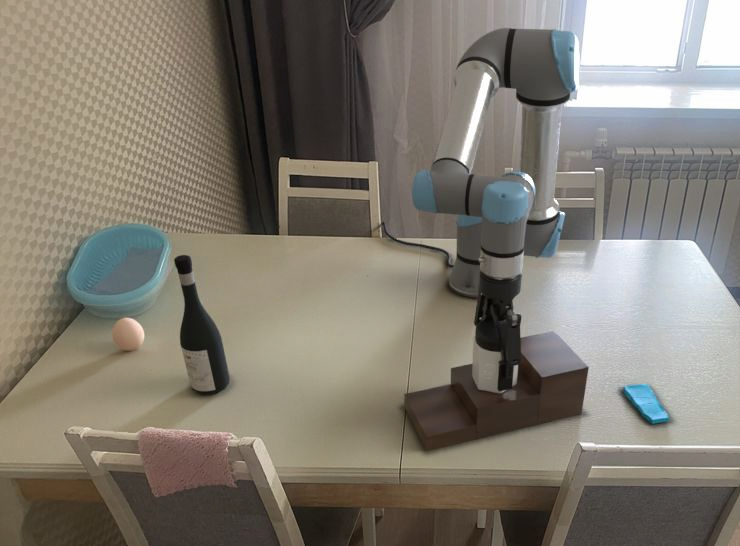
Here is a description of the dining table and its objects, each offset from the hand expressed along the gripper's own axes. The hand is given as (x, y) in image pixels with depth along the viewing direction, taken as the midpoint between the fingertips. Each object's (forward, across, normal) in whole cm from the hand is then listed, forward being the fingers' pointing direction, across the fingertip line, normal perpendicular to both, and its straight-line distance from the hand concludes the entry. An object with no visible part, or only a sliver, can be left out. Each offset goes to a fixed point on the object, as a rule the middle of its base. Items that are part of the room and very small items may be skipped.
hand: (494, 374), depth 133 cm
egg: (+9, -49, -69) cm, 85 cm away
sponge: (+9, +9, +30) cm, 33 cm away
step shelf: (+9, 0, 0) cm, 9 cm away
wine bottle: (+9, -28, -53) cm, 61 cm away
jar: (+2, 0, 0) cm, 2 cm away
